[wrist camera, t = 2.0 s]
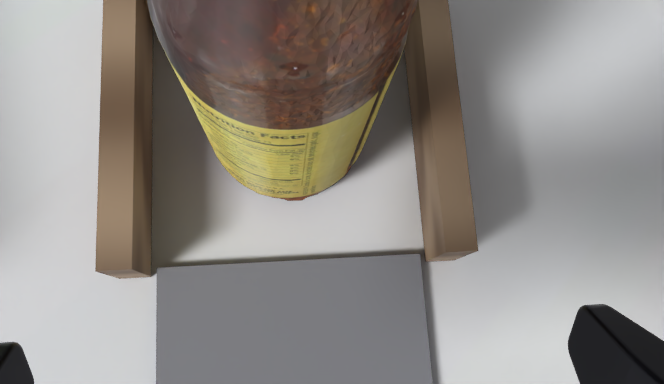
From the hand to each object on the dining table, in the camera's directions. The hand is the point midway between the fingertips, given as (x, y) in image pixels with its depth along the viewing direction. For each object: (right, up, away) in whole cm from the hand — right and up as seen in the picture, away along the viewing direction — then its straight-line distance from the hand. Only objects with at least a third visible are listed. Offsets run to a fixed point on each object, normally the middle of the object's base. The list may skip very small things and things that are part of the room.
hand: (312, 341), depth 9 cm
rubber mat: (-1, -5, +13) cm, 14 cm away
